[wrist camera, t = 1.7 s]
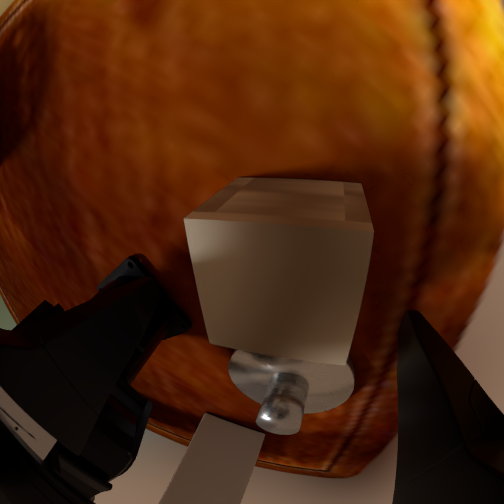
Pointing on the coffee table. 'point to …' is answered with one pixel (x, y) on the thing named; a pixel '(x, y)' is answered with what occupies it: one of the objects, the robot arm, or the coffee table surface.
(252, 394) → the post stand
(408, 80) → the coffee table surface
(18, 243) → the coffee table surface
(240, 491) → the milk carton
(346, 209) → the beige wooden cube
